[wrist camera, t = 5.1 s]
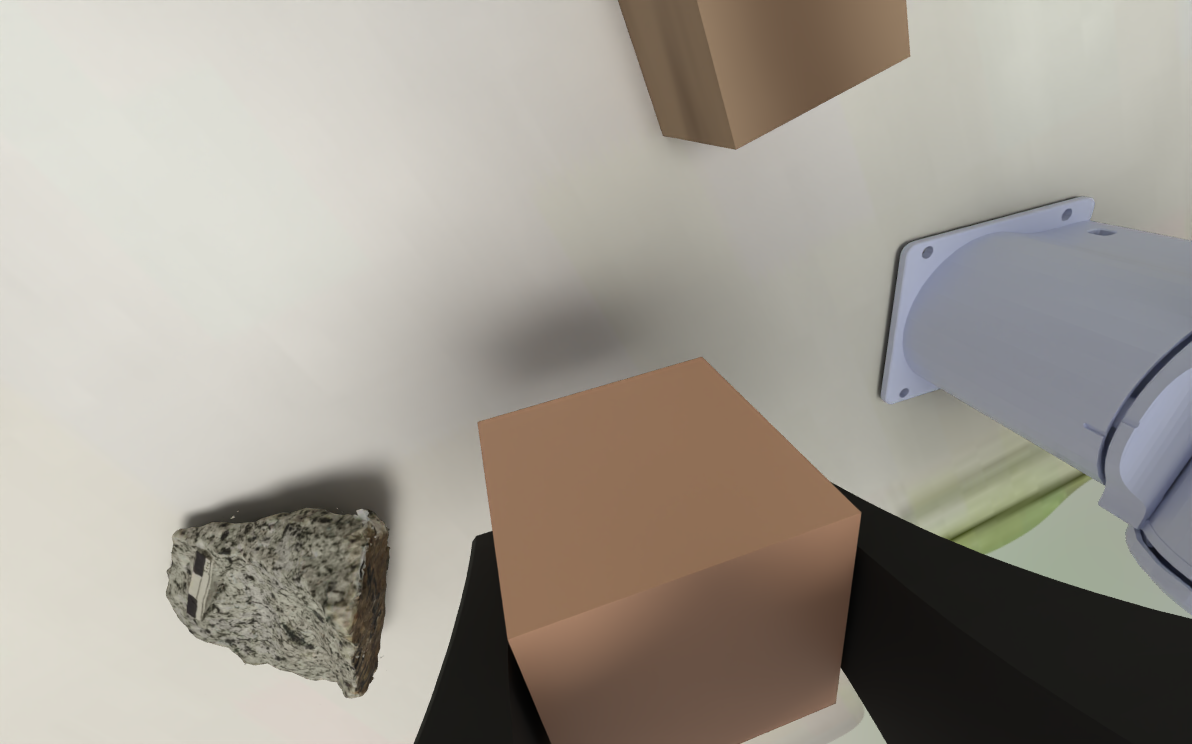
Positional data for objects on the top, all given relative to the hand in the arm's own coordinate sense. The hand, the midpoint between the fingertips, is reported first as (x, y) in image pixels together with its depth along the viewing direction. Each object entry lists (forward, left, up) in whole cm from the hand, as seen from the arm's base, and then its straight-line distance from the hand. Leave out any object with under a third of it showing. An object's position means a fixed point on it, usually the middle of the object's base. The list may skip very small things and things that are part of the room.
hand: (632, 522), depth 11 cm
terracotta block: (0, 0, -2) cm, 2 cm away
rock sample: (+12, +7, -10) cm, 18 cm away
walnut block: (-7, -9, -10) cm, 15 cm away
